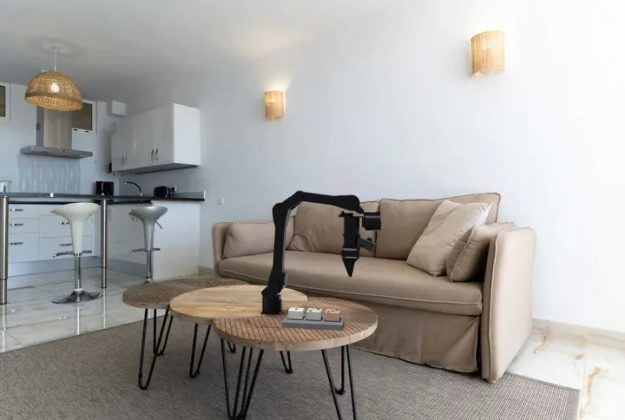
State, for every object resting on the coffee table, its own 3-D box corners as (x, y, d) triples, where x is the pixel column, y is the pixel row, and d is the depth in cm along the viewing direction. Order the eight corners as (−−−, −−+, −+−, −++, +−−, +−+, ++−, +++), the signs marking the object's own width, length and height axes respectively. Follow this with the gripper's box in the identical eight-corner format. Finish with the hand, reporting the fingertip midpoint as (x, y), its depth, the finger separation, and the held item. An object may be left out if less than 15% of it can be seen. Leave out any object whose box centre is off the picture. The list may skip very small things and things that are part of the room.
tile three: (325, 320, 127) (325, 312, 127) (326, 316, 132) (326, 308, 132) (339, 321, 127) (339, 312, 127) (339, 317, 131) (340, 309, 131)
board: (282, 326, 125) (282, 322, 125) (289, 316, 137) (289, 312, 137) (342, 330, 123) (342, 325, 123) (344, 319, 135) (344, 315, 135)
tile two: (306, 319, 128) (306, 311, 128) (308, 315, 132) (308, 307, 132) (320, 320, 127) (320, 311, 127) (321, 316, 132) (322, 308, 132)
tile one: (288, 318, 129) (288, 310, 129) (290, 314, 133) (291, 306, 133) (302, 319, 128) (302, 310, 128) (304, 315, 133) (304, 307, 133)
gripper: (375, 232, 129) (374, 280, 129) (374, 229, 147) (373, 271, 147) (341, 231, 130) (340, 279, 130) (344, 229, 149) (343, 270, 149)
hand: (350, 274), depth 139 cm, fingers open, 9 cm apart
